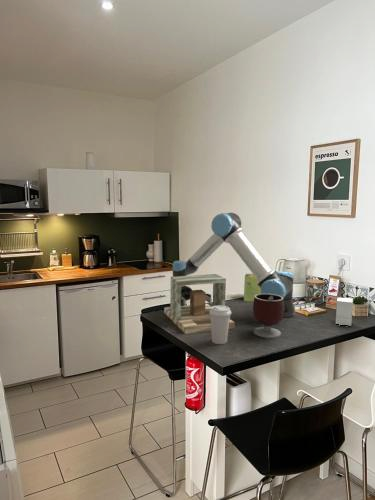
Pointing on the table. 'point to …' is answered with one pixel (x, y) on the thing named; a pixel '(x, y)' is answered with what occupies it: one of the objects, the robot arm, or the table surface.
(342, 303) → the supplement box
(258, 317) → the mate gourd
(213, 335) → the coffee cup
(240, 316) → the table surface
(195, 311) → the walnut block
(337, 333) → the table surface
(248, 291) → the protein box
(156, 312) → the table surface
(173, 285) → the tunnel
